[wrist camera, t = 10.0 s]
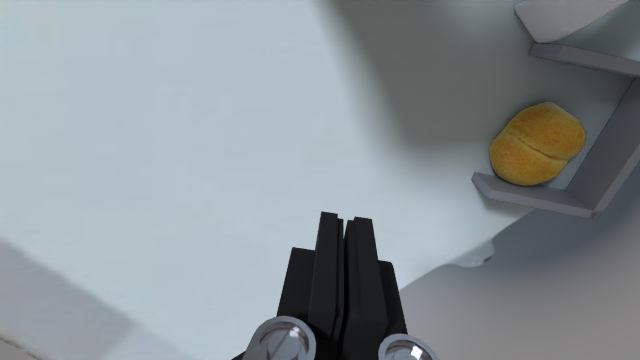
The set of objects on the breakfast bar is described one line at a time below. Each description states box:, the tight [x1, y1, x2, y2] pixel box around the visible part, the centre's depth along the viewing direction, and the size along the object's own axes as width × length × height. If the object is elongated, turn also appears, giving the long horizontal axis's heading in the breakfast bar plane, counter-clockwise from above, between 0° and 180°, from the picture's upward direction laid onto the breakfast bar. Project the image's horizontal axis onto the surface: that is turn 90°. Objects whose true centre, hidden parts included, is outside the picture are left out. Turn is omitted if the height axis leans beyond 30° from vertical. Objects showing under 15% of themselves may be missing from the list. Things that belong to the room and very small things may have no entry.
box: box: [471, 44, 640, 220], centre depth 31 cm, size 15×12×4 cm
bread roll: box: [489, 102, 586, 186], centre depth 32 cm, size 8×9×4 cm
